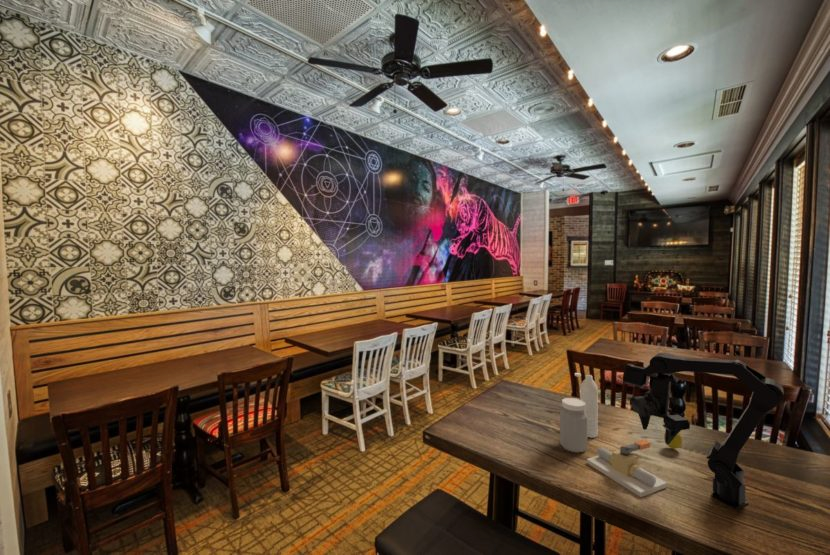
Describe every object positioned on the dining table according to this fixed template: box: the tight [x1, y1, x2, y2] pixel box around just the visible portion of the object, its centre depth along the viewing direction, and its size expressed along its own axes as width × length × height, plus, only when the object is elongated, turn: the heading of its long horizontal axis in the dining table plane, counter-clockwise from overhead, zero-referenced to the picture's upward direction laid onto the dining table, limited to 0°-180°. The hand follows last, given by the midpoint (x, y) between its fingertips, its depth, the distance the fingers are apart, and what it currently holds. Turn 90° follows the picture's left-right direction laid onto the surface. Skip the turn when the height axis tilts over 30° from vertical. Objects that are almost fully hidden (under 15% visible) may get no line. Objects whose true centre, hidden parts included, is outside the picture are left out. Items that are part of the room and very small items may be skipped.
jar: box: [559, 397, 588, 454], centre depth 136 cm, size 10×10×18 cm
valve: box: [586, 446, 668, 498], centre depth 119 cm, size 20×12×7 cm, turn 22°
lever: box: [619, 439, 651, 456], centre depth 120 cm, size 12×3×2 cm, turn 112°
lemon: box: [663, 432, 683, 450], centre depth 134 cm, size 6×6×8 cm
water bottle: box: [574, 372, 599, 439], centre depth 147 cm, size 9×6×25 cm
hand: (655, 436), depth 119 cm, fingers open, 9 cm apart
